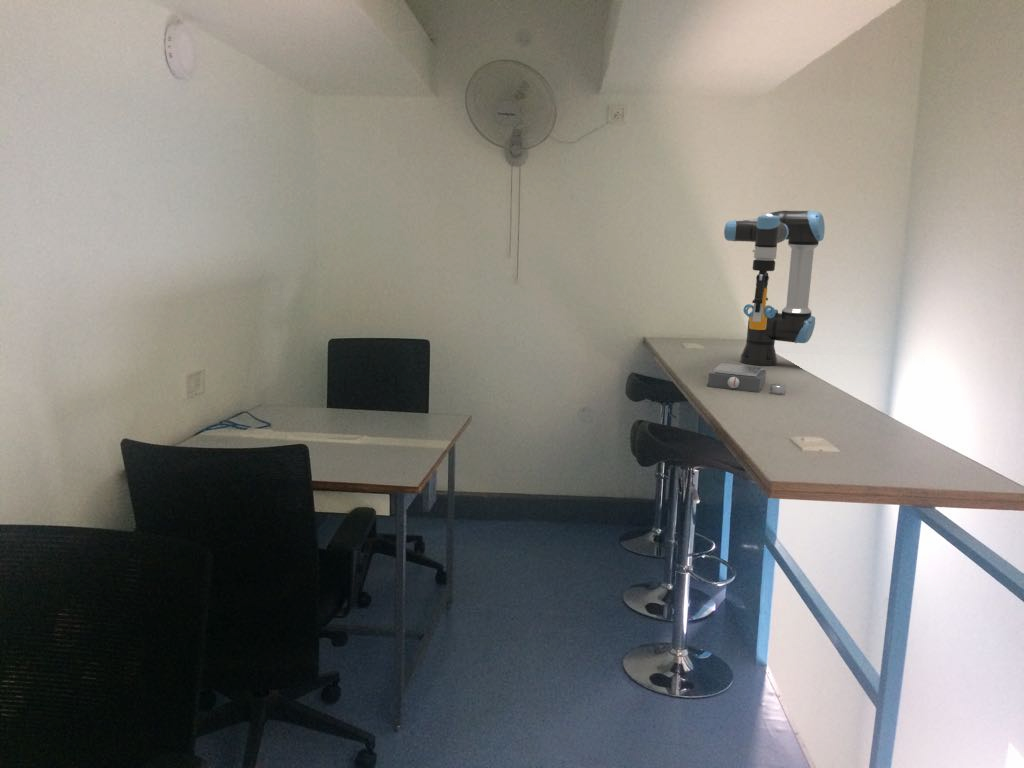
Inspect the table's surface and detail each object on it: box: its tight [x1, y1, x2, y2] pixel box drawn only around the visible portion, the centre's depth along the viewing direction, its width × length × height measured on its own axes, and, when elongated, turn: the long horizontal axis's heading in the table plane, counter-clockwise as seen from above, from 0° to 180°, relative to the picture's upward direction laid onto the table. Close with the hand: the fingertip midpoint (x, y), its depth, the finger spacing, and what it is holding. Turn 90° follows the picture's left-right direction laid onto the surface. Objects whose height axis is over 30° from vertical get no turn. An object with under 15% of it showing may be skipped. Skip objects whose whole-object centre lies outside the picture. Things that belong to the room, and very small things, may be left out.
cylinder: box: [743, 287, 776, 330], centre depth 271 cm, size 12×10×15 cm
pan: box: [713, 362, 763, 377], centre depth 277 cm, size 15×15×5 cm
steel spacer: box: [769, 383, 787, 396], centre depth 265 cm, size 5×5×3 cm
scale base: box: [707, 364, 767, 393], centre depth 277 cm, size 19×18×5 cm
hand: (758, 319), depth 272 cm, fingers closed on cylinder, 12 cm apart
